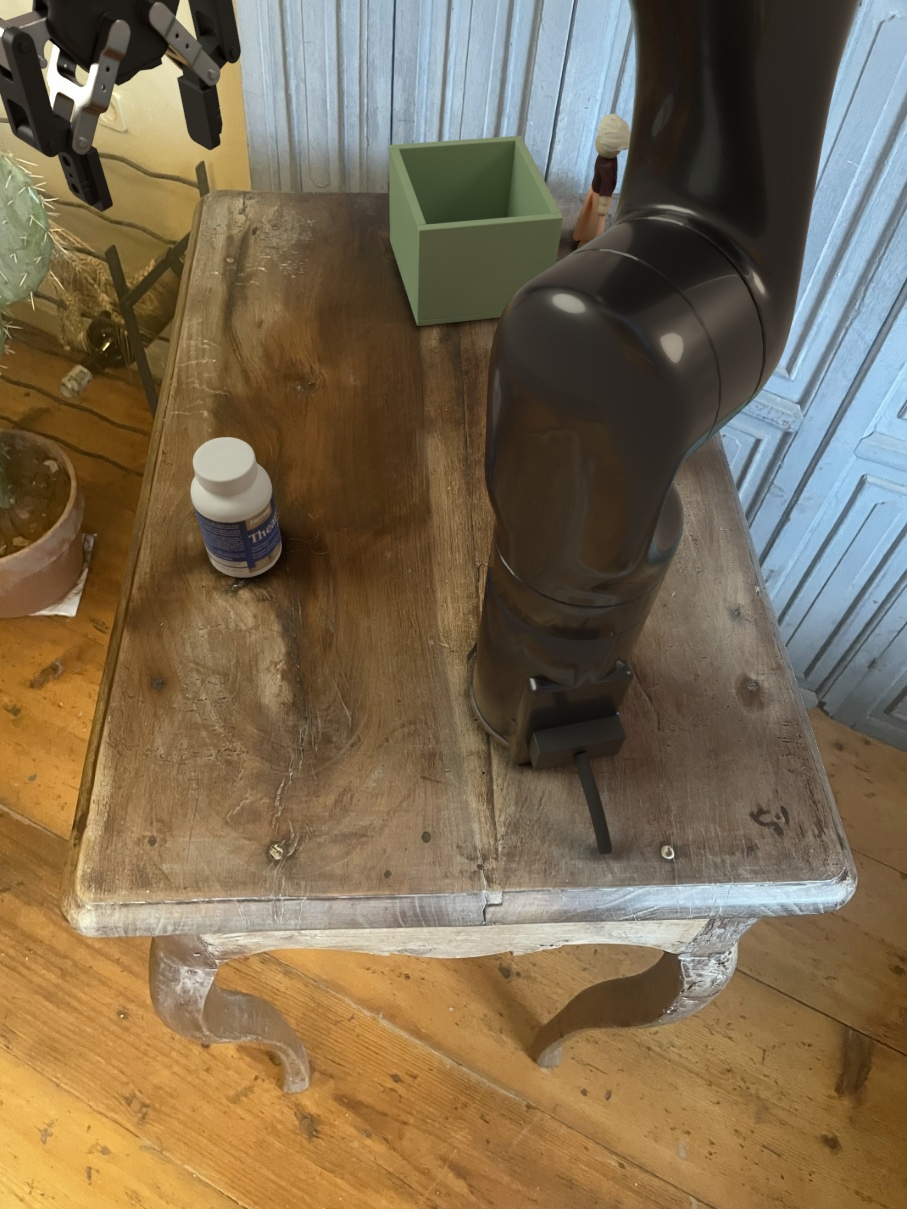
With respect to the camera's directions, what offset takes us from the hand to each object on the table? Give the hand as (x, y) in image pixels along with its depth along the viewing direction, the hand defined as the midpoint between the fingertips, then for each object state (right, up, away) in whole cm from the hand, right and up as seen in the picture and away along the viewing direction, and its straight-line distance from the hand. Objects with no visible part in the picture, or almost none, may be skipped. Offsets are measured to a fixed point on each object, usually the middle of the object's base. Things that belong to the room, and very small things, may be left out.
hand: (153, 172), depth 53 cm
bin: (+20, +6, +32) cm, 38 cm away
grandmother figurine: (+32, +10, +36) cm, 49 cm away
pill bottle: (+3, -22, +12) cm, 25 cm away
